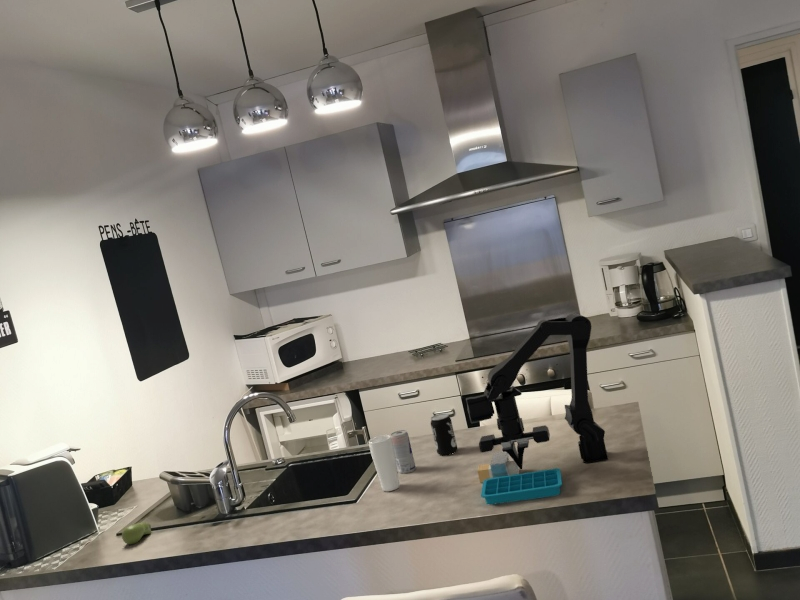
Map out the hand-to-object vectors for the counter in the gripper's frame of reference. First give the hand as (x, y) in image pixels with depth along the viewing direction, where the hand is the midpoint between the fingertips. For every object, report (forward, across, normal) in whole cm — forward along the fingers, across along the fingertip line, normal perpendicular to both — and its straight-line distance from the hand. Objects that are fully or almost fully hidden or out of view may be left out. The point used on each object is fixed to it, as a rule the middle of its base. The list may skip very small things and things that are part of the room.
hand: (521, 468), depth 192 cm
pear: (-1, +114, +10) cm, 115 cm away
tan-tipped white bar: (+2, +6, 0) cm, 6 cm away
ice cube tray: (+2, -1, +12) cm, 12 cm away
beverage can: (+1, +25, -27) cm, 37 cm away
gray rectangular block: (+2, +5, 0) cm, 6 cm away
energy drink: (+1, +36, -16) cm, 40 cm away
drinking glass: (+1, +38, -3) cm, 39 cm away
